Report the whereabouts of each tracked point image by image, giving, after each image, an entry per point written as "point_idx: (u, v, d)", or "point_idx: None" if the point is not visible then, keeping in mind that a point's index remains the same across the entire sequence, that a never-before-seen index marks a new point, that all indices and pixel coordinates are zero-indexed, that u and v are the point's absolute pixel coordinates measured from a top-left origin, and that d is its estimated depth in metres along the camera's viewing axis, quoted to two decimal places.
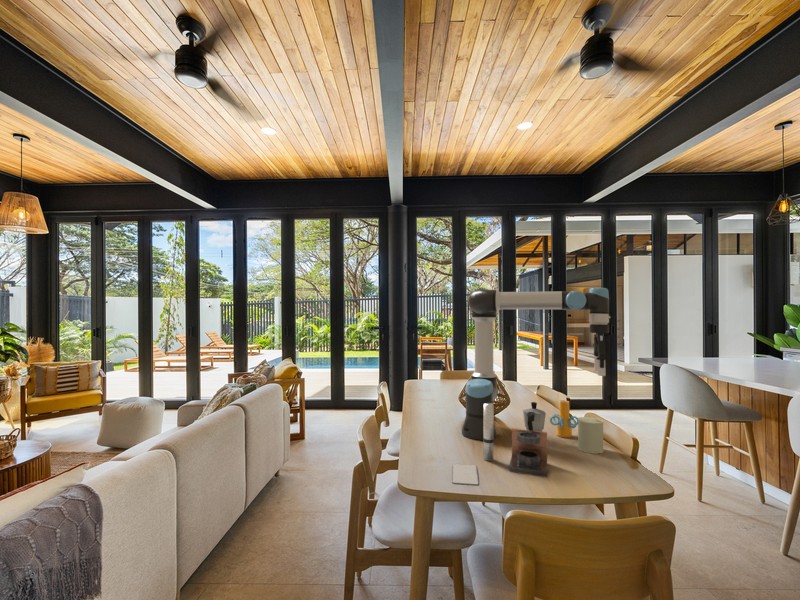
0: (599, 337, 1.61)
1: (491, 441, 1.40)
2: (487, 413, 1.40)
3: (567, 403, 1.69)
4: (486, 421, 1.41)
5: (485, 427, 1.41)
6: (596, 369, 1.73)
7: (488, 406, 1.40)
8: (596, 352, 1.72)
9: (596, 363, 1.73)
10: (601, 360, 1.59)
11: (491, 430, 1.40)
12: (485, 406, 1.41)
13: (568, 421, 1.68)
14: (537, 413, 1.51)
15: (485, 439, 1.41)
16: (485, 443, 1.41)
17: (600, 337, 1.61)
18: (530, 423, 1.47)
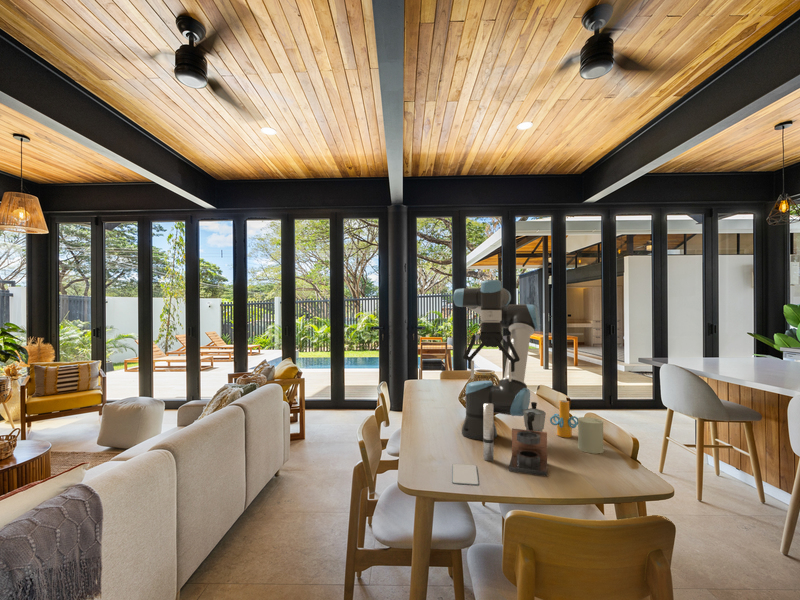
0: None
1: (491, 441, 1.40)
2: (487, 413, 1.40)
3: (567, 403, 1.69)
4: (486, 421, 1.41)
5: (485, 427, 1.41)
6: None
7: (488, 406, 1.40)
8: None
9: None
10: None
11: (491, 430, 1.40)
12: (485, 406, 1.41)
13: (568, 421, 1.68)
14: (537, 413, 1.51)
15: (485, 439, 1.41)
16: (485, 443, 1.41)
17: None
18: (530, 423, 1.47)
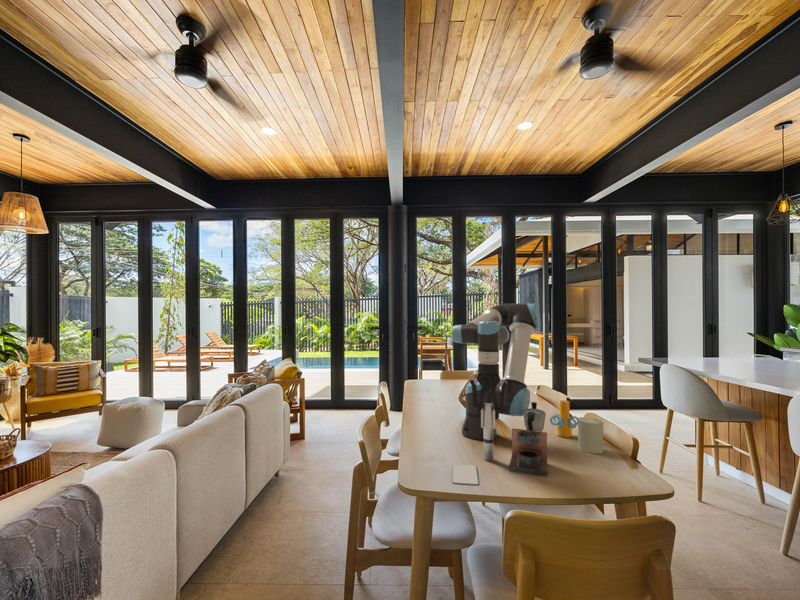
0: None
1: (491, 441, 1.40)
2: (487, 413, 1.40)
3: (567, 403, 1.69)
4: (486, 421, 1.40)
5: (485, 427, 1.41)
6: None
7: (488, 406, 1.40)
8: None
9: None
10: None
11: (491, 430, 1.40)
12: (485, 406, 1.41)
13: (568, 421, 1.68)
14: (537, 413, 1.51)
15: (485, 439, 1.41)
16: (485, 443, 1.41)
17: None
18: (530, 423, 1.47)
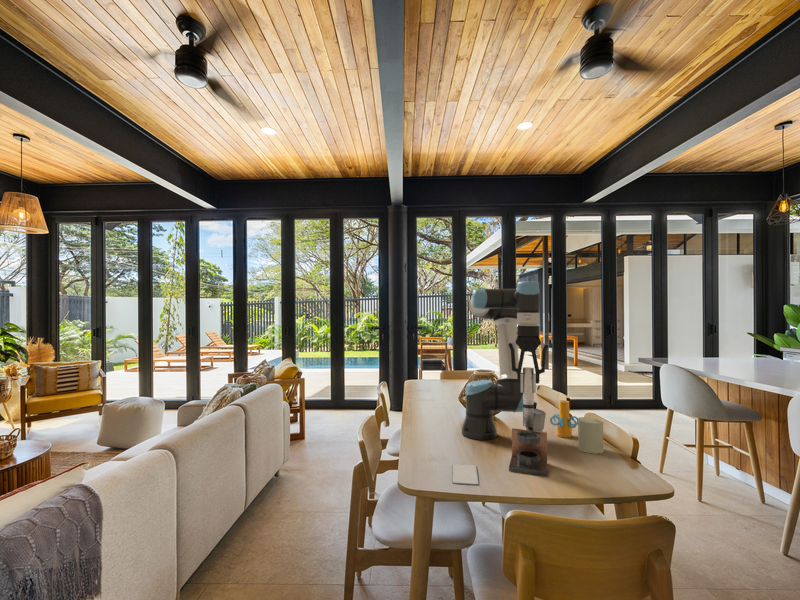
0: None
1: (532, 406, 1.34)
2: (527, 377, 1.34)
3: (567, 403, 1.69)
4: (526, 385, 1.34)
5: (525, 392, 1.34)
6: None
7: (528, 370, 1.34)
8: None
9: None
10: (517, 373, 1.37)
11: (532, 395, 1.34)
12: (525, 370, 1.35)
13: (568, 421, 1.68)
14: (537, 413, 1.51)
15: (525, 404, 1.34)
16: (525, 408, 1.34)
17: None
18: None
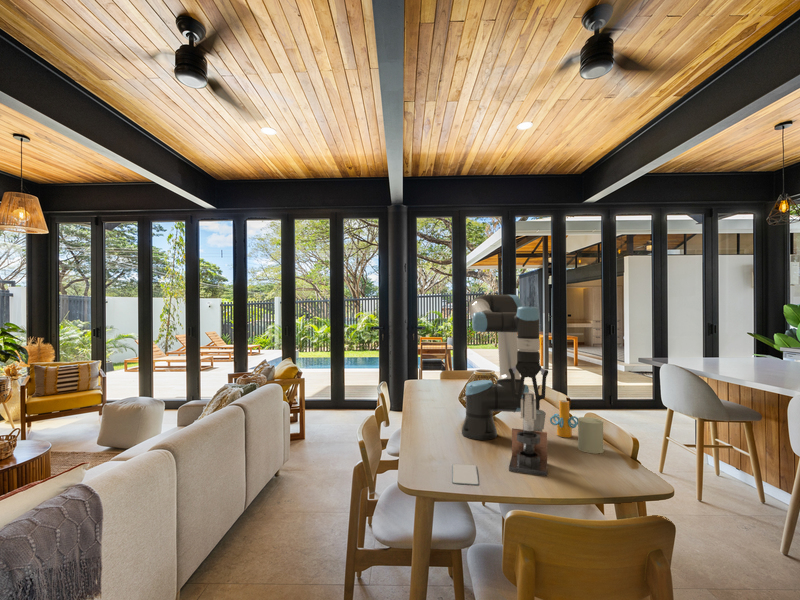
0: None
1: (532, 432, 1.33)
2: (527, 403, 1.34)
3: (567, 403, 1.69)
4: (526, 411, 1.34)
5: (525, 418, 1.34)
6: None
7: (528, 396, 1.34)
8: None
9: None
10: (517, 398, 1.37)
11: (532, 421, 1.33)
12: (525, 396, 1.34)
13: (568, 421, 1.68)
14: (537, 413, 1.51)
15: (525, 430, 1.34)
16: (525, 435, 1.34)
17: None
18: None
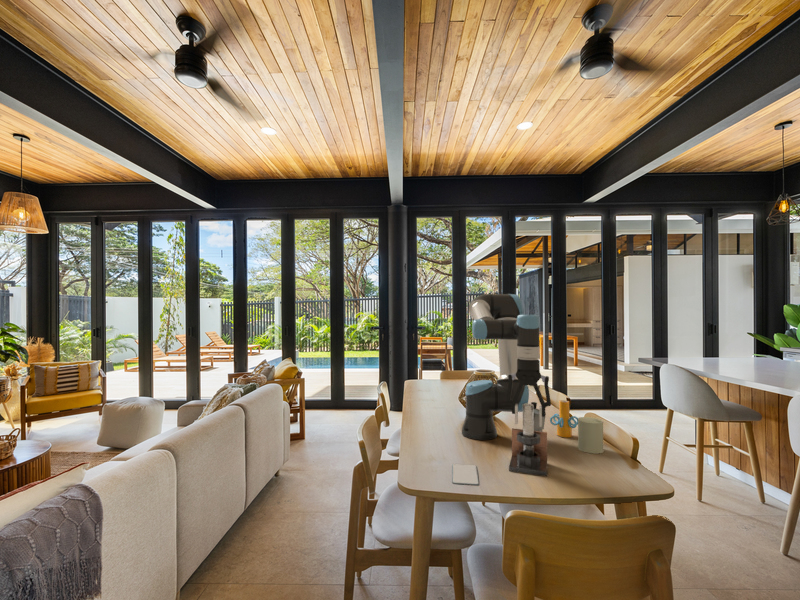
0: None
1: None
2: (527, 415, 1.33)
3: (567, 403, 1.69)
4: (526, 422, 1.33)
5: (525, 429, 1.34)
6: None
7: (528, 407, 1.33)
8: None
9: None
10: None
11: (531, 432, 1.33)
12: (525, 407, 1.34)
13: (568, 421, 1.68)
14: (537, 413, 1.51)
15: None
16: (525, 446, 1.34)
17: None
18: None
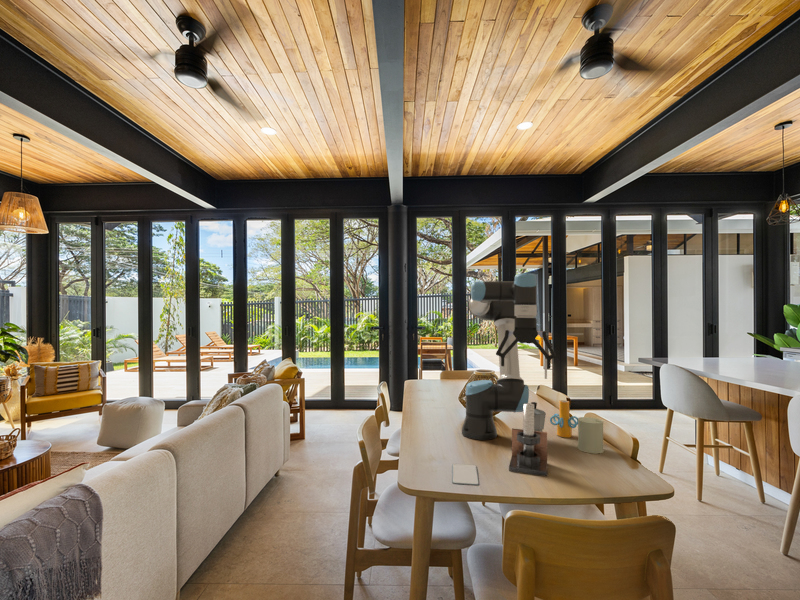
0: None
1: None
2: (528, 414, 1.34)
3: (567, 403, 1.69)
4: (527, 422, 1.34)
5: (525, 428, 1.34)
6: None
7: (529, 406, 1.34)
8: None
9: None
10: (501, 357, 1.41)
11: (532, 432, 1.34)
12: (526, 406, 1.34)
13: (568, 421, 1.68)
14: (537, 413, 1.51)
15: None
16: (525, 445, 1.34)
17: None
18: None
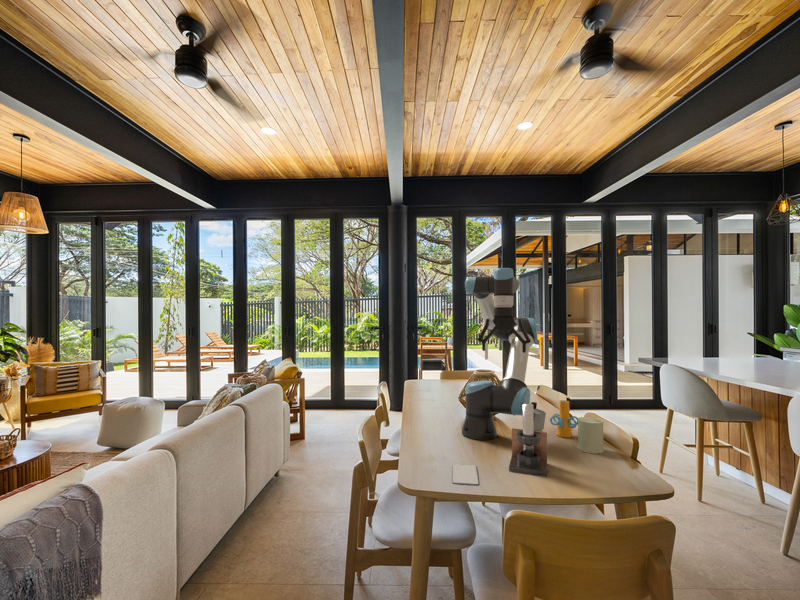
0: None
1: None
2: (527, 414, 1.34)
3: (567, 403, 1.69)
4: (526, 422, 1.34)
5: (525, 429, 1.34)
6: None
7: (528, 407, 1.34)
8: None
9: None
10: (482, 343, 1.58)
11: (531, 432, 1.33)
12: (525, 407, 1.34)
13: (568, 421, 1.68)
14: (537, 413, 1.51)
15: None
16: (525, 445, 1.34)
17: None
18: None
